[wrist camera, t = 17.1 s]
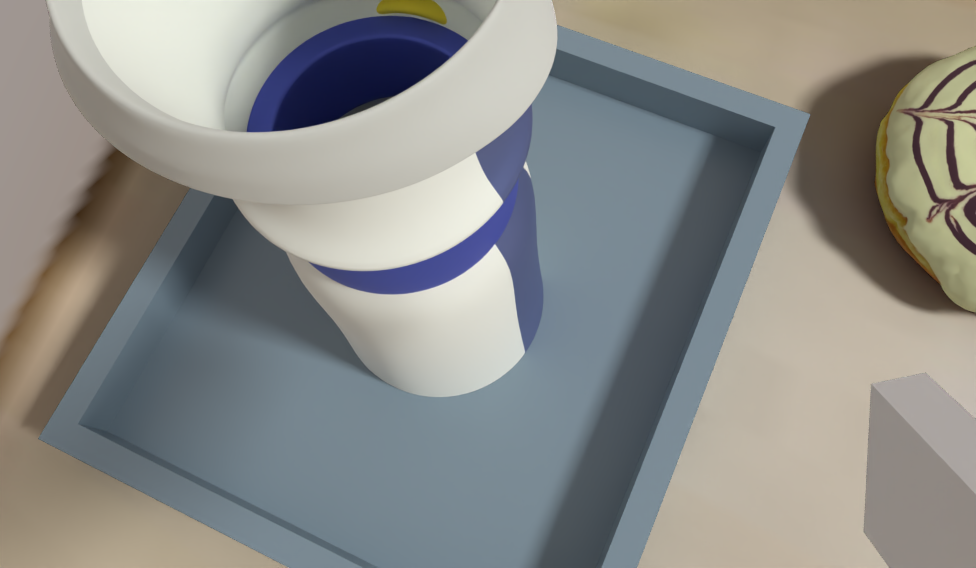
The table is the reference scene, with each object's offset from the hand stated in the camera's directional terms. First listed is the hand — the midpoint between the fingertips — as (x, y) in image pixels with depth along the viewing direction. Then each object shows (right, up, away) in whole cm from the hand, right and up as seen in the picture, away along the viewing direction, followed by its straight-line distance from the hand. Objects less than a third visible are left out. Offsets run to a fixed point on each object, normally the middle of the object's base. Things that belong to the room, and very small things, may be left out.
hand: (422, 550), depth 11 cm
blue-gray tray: (-1, +3, +20) cm, 20 cm away
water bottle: (-1, +3, +19) cm, 19 cm away
